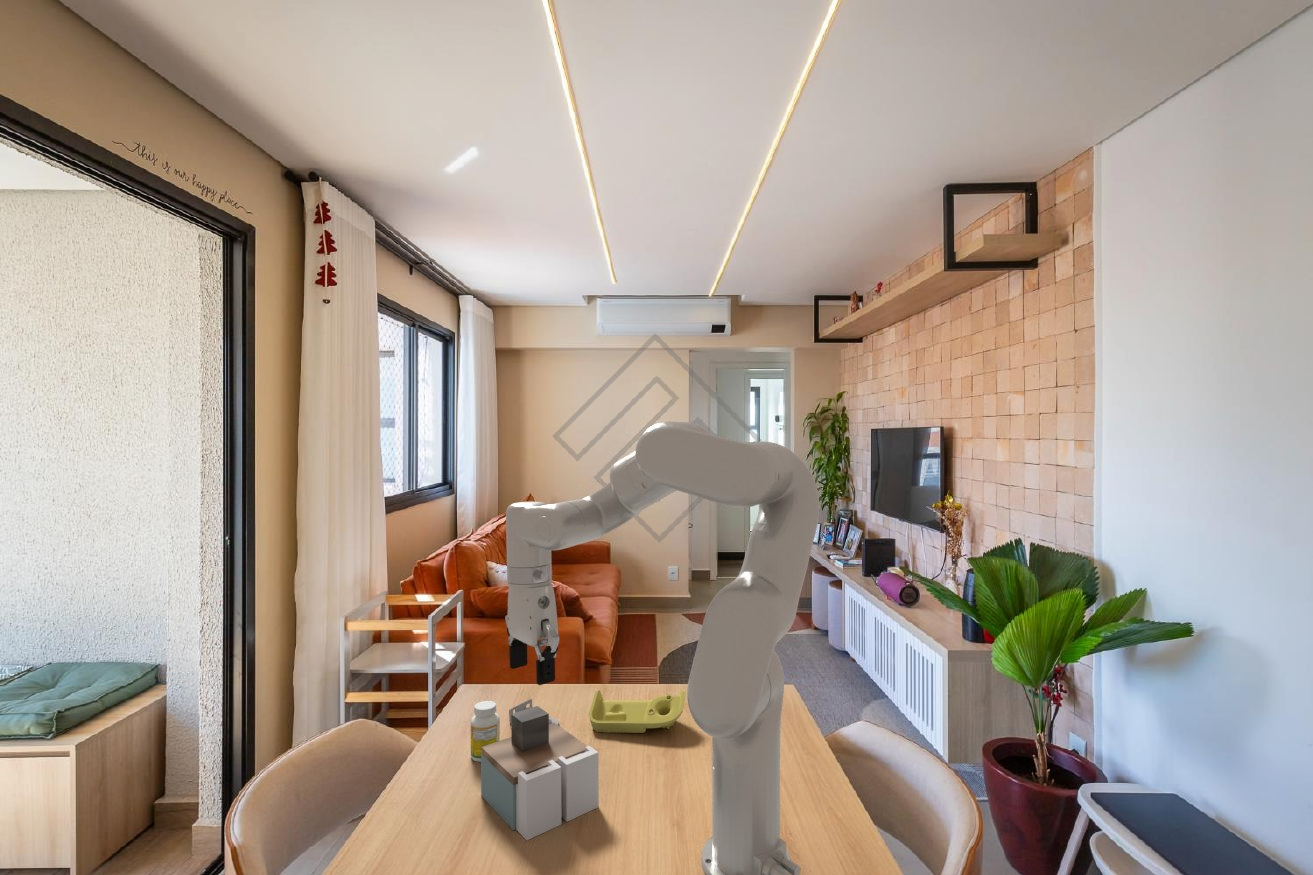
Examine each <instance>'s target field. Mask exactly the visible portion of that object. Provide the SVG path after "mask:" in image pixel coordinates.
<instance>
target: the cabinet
mask: <svg viewBox="0 0 1313 875" xmlns="http://www.w3.org/2000/svg"><path fill="white" fill-rule="evenodd" d="M480 765H481V766H480V780H481V781H480V785H481V786H480V788H481V789H480V792H481V794H480V796H481V797H482V798H483V800H485V802H486V803H488V805H489V806H490V807H491V808H492V809H493V810H494V811H495V812H496V813H497V815H498V816H499V817H500V818H501V819H502V820H503V821H504V822H505V823H506V824H507V825H508V827H509V828H510V829H511V830H512V831H518V833H519V835H521V836H522V837H523V838H524V840H526V841H529V840H531V839H533V838H535V837H537V836H539V835H541V834H543V833H544V834H545V833H546V832H548V831H550V830H553V829H555V828H557V827H559V826H561V825H562V819H563V820H565V822H570V821H571V820H574V819H576V818H578V817H580V816H582V815H584V814H587V813H589V812H591V811H593V810H595V809H598V808H599V807H600V806H599V804H600V803H599V798H600V797H599V796H600V794H599V780H600V779H599V775H600V774H599V751H597V750H596V749H594V748H593V747H592V746H590V745H587V747H585V752H584V753H582V754H579V755H577V756H574V757H572V758H569V759H565V758H564V757H563V756H561V757H558V764H557V763H556V762H554V761H553V760H550V761H548V767H546V768H543V769H541V770H538V771H536V772H533V773H531V774H528V775H526V774H525V773H524V772H523V771H522V772H519V773H518V784H516V785H513V784H512V783H511V782H510V781H509V780H508V779H507V778H506V777H505V776H504V775H503V774H502V773H501V772H499V771H498V770H497V769H496V768H495V767H494V766H493V765H492V764H491V763H490V762H489V761H488V760H487V759H486V758H485V757H484V756H483V755H482V754H481V762H480Z"/></svg>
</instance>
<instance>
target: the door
mask: <svg viewBox="0 0 1313 875" xmlns="http://www.w3.org/2000/svg"><path fill="white" fill-rule="evenodd" d="M549 717H550V714H549V713H548V712H547V711H546V710H545V709H542V708H541V707H540V706H538V705H536V706H532V708H529V709H526V710H523V711H520V712H517V713H515V712H513V714H511V724H510V726H511V731H510V732H511V737H507V738H505V739H500V741H498V742H495V743H493V744H490V745H487V746H484V747H482V755H483V756H484V757H485V758H486V759H487V760H488V761H489V762H490V763H491V764H492V765H493V766H494V767H495V768H496V769H497V770H498V771H499V772H501V773H502V774H503V775H504V776H505V777H506V778H507V779H508V780H509V781H510V782H511V783H512V784H513V785H516V784H518V773H519V772H522V771H523V772H524V773H525V774H526V775H528V774H531V773H533V772H536V771H538V770H541V769H543V768H546V767H548V761H550V760H553V761H554V762H556V763H557V764H558V757H561V756H563V757H564V758H565V759H569V758H572V757H574V756H577V755H579V754H582V753H584V752H585V747H587V746H588V744H585V743H584V742H583V741H581V740H579V739H578V738H577V737H575V736H574V735H573V734H571V733H570V732H569V731H567V730H566V729H564V728H563V727H561V725H559V724H558V725H557V724H556V723H551V724H549Z"/></svg>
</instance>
